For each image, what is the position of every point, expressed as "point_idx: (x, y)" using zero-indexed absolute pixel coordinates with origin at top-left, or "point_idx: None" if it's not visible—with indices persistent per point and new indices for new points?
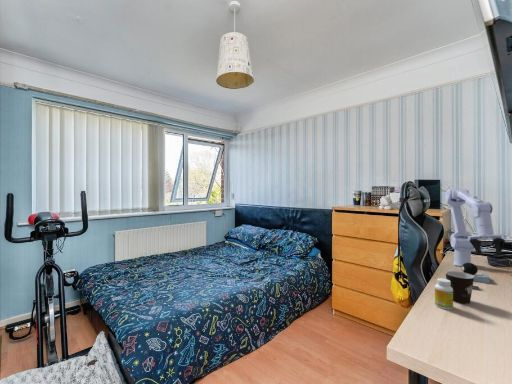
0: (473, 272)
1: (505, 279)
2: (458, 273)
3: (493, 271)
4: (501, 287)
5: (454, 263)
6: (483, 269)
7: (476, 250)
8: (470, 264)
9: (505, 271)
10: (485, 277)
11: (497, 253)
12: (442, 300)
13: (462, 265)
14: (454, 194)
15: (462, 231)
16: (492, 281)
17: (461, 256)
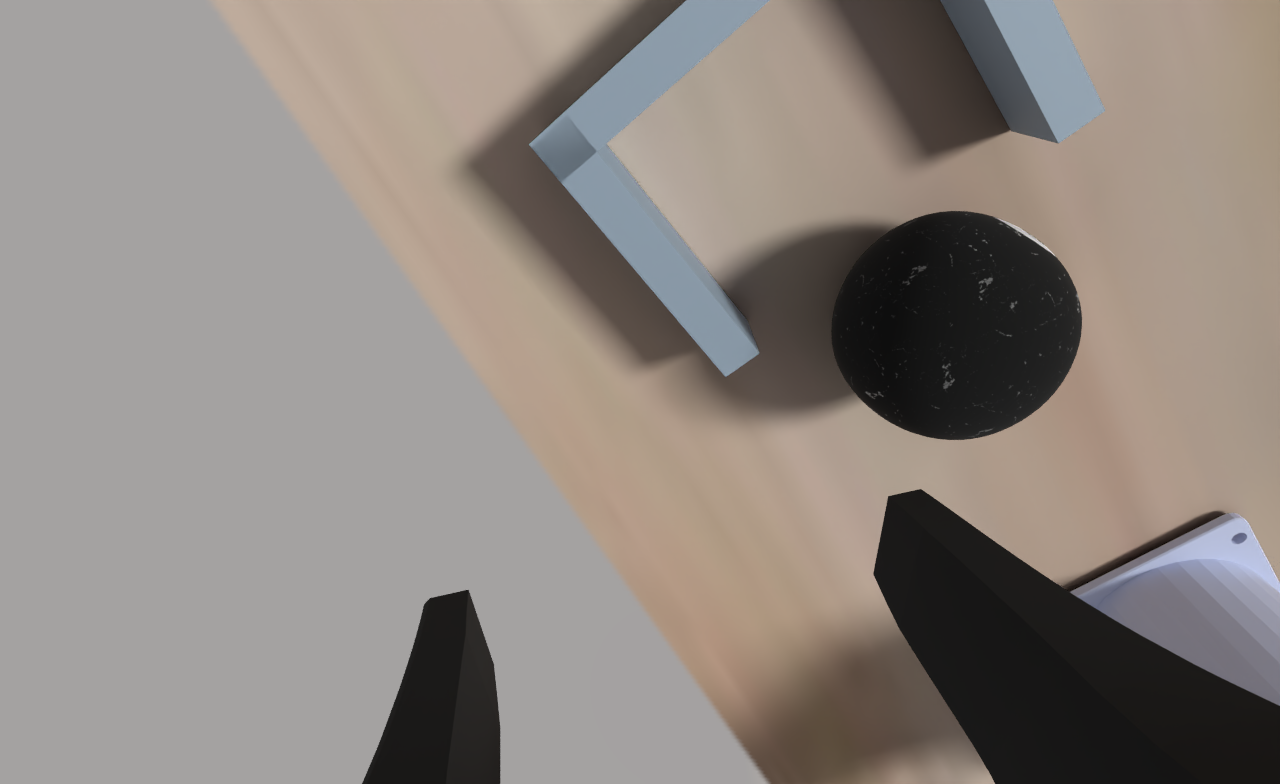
0: (851, 271)
1: (602, 521)
2: None
3: (836, 684)
4: (371, 119)
5: (1262, 572)
6: None
7: (998, 564)
8: (953, 323)
9: (780, 774)
10: (568, 110)
11: (433, 626)
12: None
13: (1069, 276)
14: None
15: None
16: (595, 286)
17: (1267, 677)
